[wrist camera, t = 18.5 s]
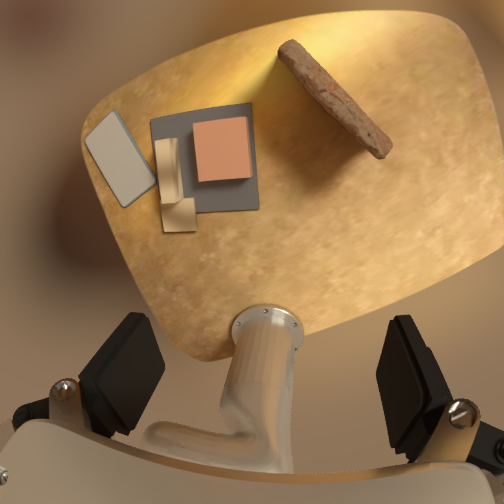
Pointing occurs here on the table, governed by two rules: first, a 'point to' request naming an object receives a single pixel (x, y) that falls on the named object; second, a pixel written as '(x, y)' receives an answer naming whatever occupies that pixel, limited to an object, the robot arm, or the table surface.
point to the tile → (223, 149)
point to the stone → (334, 99)
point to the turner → (173, 189)
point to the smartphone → (120, 159)
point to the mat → (205, 192)
